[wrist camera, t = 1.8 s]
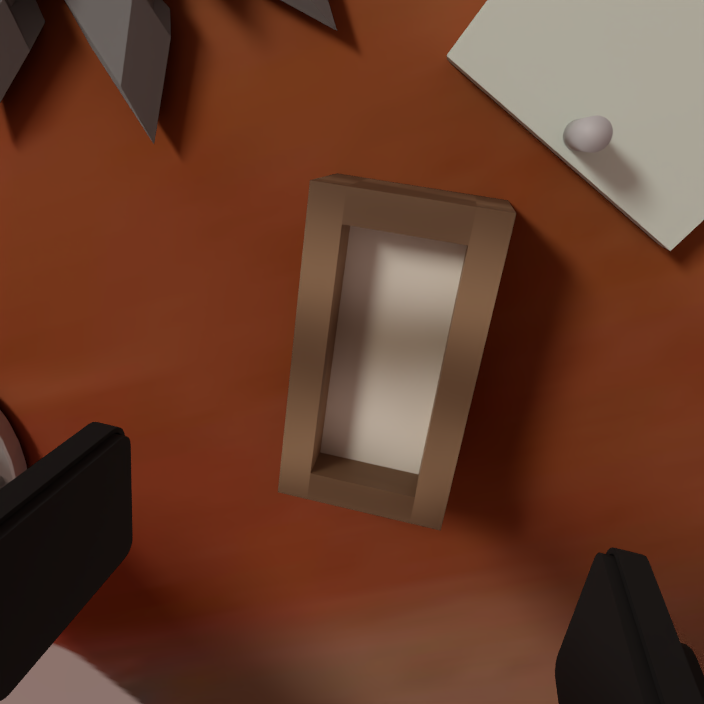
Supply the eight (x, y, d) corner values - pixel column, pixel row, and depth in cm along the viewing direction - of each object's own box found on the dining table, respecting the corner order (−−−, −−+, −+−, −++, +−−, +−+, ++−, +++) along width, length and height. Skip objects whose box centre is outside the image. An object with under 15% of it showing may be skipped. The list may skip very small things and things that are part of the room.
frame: (444, 473, 25) (440, 530, 22) (304, 442, 26) (277, 492, 22) (508, 200, 21) (516, 213, 17) (336, 173, 22) (309, 180, 18)
